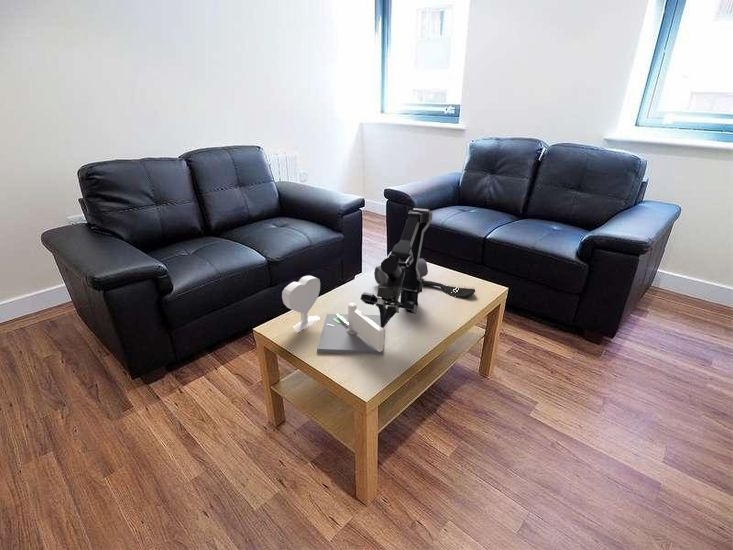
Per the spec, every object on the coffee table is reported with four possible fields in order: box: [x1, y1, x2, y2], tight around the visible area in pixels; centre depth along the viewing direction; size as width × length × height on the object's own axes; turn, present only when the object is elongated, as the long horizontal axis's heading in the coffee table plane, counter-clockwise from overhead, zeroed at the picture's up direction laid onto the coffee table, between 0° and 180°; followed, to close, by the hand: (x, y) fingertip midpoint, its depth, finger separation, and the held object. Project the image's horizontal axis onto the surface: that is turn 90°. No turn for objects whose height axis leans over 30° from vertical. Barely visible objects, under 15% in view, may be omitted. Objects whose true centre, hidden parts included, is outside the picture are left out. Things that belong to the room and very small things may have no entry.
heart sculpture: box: [281, 275, 321, 332], centre depth 140 cm, size 16×5×18 cm, turn 143°
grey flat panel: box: [316, 313, 385, 355], centre depth 138 cm, size 22×22×2 cm
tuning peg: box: [336, 302, 385, 352], centre depth 133 cm, size 28×3×10 cm, turn 34°
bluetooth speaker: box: [373, 258, 429, 286], centre depth 172 cm, size 23×9×10 cm, turn 113°
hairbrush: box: [421, 280, 476, 299], centre depth 167 cm, size 8×4×25 cm
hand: (382, 327), depth 128 cm, fingers closed
